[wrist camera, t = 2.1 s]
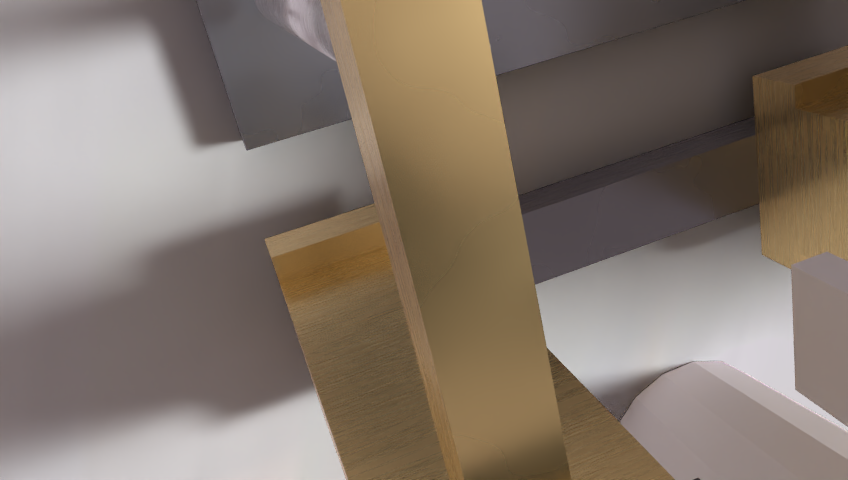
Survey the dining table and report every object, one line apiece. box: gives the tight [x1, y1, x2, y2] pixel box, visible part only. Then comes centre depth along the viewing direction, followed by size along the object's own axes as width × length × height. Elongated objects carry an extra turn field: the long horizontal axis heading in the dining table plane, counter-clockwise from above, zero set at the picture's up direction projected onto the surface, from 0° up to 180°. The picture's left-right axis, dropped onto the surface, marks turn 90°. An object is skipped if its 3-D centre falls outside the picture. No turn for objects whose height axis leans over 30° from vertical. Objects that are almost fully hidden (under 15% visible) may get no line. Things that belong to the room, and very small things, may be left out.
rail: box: [518, 117, 759, 284], centre depth 21 cm, size 15×2×1 cm, turn 102°
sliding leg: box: [254, 0, 700, 480], centre depth 12 cm, size 4×12×11 cm, turn 12°
